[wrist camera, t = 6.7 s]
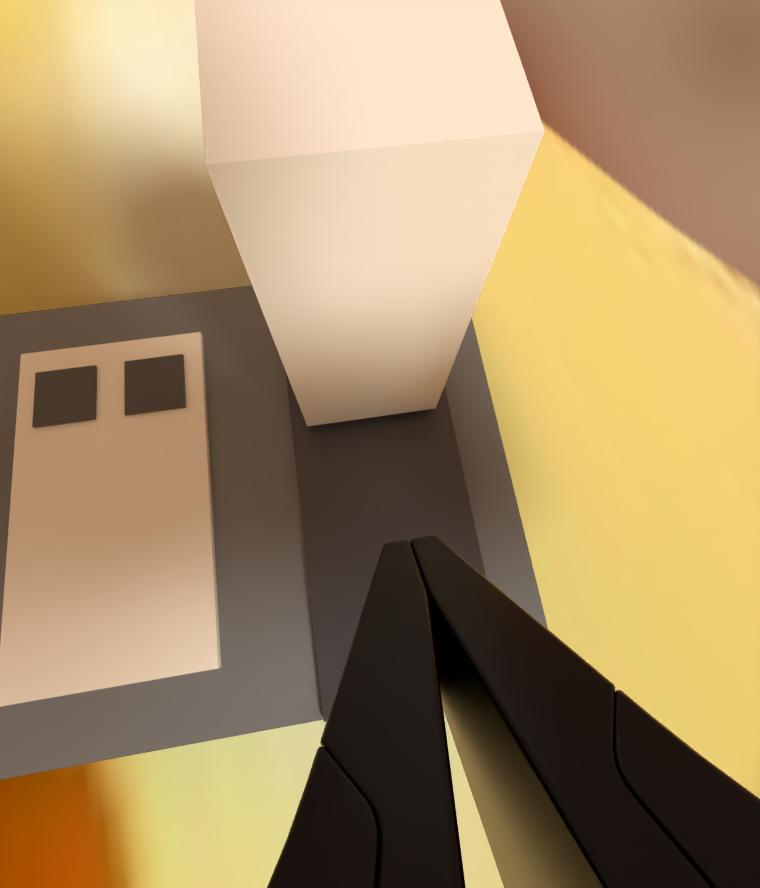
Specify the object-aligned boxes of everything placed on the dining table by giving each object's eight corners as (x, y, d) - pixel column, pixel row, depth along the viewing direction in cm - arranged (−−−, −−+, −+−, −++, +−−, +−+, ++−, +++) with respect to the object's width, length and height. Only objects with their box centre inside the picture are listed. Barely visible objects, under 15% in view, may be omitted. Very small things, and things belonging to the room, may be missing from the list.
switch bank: (531, 661, 13) (565, 678, 11) (-273, 808, 12) (-429, 864, 9) (447, 299, 16) (459, 253, 14) (-183, 377, 15) (-282, 340, 13)
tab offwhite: (435, 408, 12) (544, 131, 5) (307, 426, 12) (205, 164, 5) (416, 312, 13) (481, -54, 6) (295, 327, 13) (193, -33, 5)
